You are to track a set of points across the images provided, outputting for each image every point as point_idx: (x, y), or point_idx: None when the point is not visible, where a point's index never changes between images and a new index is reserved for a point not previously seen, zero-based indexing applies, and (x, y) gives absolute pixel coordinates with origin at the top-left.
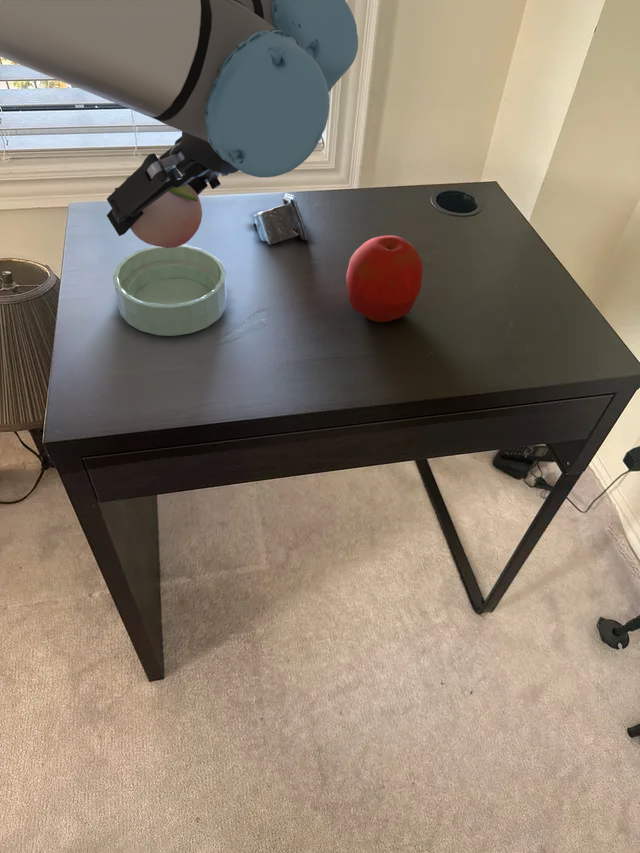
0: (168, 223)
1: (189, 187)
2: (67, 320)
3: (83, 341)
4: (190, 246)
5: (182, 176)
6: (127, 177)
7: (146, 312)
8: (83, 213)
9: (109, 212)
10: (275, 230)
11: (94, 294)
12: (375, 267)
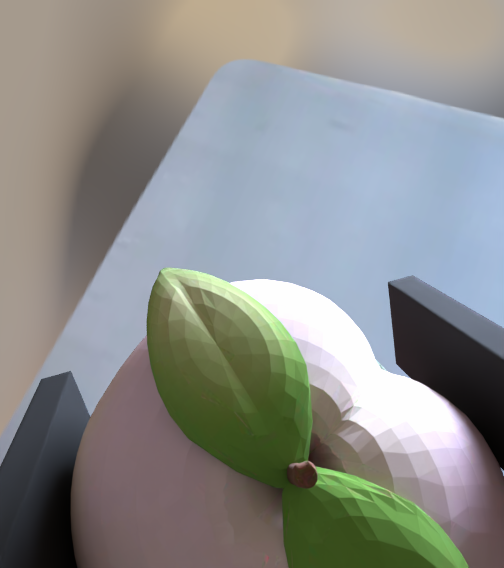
0: None
1: (497, 552)
2: (21, 413)
3: None
4: (379, 365)
5: (481, 347)
6: (158, 282)
7: None
8: (225, 82)
9: (31, 404)
10: None
11: (119, 345)
12: None
